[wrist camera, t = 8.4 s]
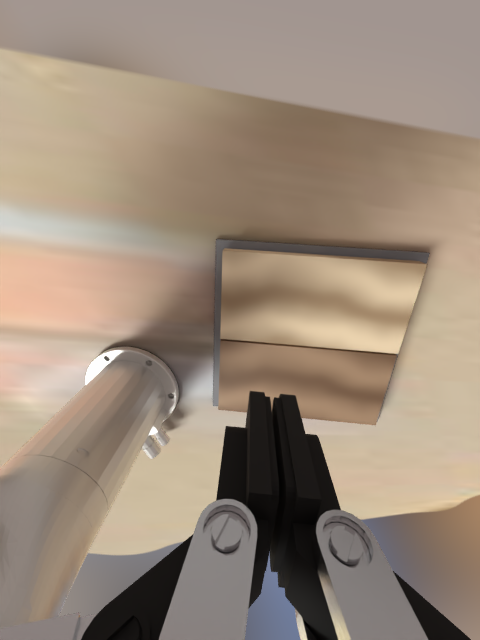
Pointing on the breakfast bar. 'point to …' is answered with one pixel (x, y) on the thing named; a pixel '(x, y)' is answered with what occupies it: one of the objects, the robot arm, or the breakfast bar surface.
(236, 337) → the ash plank
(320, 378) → the walnut board
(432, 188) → the breakfast bar surface
